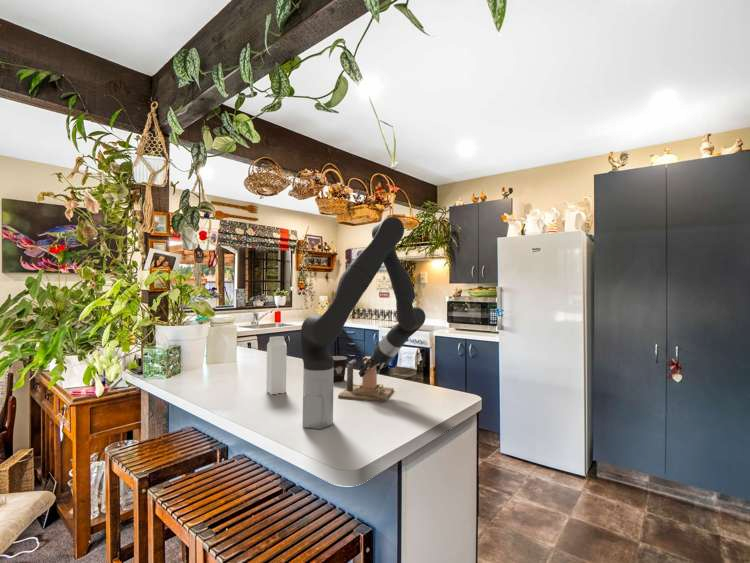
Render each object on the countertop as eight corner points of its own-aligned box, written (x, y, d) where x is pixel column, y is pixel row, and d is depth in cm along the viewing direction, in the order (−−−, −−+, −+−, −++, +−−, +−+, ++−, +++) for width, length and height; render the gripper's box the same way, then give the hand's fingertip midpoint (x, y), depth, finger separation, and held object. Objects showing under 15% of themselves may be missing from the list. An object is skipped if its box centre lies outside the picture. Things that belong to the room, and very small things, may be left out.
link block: (373, 390, 143) (373, 359, 144) (362, 389, 145) (362, 358, 145) (376, 387, 148) (376, 356, 148) (365, 386, 149) (365, 356, 149)
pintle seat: (384, 402, 136) (384, 369, 137) (338, 397, 141) (338, 366, 141) (393, 390, 152) (393, 360, 152) (351, 386, 156) (351, 358, 157)
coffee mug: (348, 378, 171) (348, 356, 171) (344, 383, 162) (344, 360, 162) (323, 377, 172) (323, 355, 172) (318, 382, 163) (318, 359, 163)
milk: (266, 391, 148) (266, 336, 149) (280, 389, 152) (281, 335, 152) (271, 395, 143) (271, 337, 144) (286, 392, 147) (286, 336, 147)
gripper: (396, 338, 146) (375, 363, 154) (369, 341, 136) (348, 368, 145) (406, 353, 142) (384, 379, 150) (379, 358, 132) (357, 385, 141)
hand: (366, 373), depth 147 cm, fingers closed on link block, 6 cm apart
